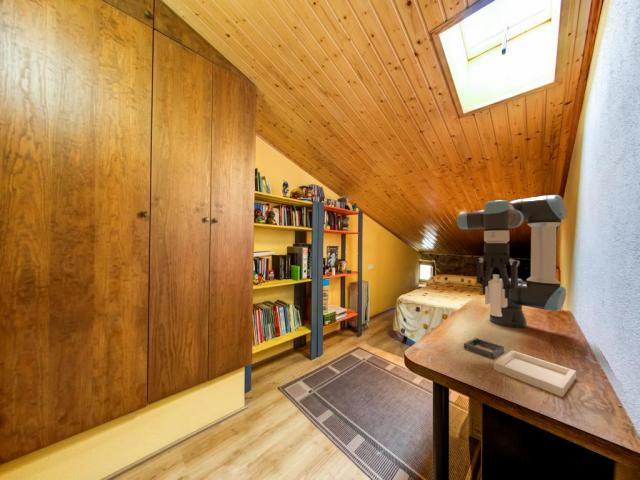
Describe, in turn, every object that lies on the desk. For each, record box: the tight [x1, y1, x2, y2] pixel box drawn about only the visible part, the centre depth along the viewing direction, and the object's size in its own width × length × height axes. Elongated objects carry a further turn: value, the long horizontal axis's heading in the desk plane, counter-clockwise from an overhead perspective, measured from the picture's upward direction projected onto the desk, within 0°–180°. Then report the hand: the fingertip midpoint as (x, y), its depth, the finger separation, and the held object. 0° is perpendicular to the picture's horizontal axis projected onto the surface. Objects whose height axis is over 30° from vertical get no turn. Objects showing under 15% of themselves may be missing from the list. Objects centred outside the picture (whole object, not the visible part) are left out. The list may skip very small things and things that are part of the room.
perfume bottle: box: [488, 273, 503, 317], centre depth 85 cm, size 5×4×15 cm
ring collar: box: [463, 337, 505, 360], centre depth 90 cm, size 10×10×2 cm
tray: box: [493, 350, 577, 398], centre depth 74 cm, size 16×16×2 cm
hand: (496, 305), depth 85 cm, fingers closed on perfume bottle, 4 cm apart
